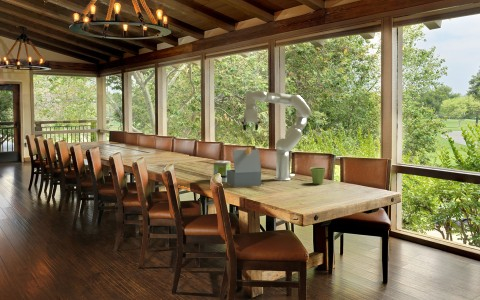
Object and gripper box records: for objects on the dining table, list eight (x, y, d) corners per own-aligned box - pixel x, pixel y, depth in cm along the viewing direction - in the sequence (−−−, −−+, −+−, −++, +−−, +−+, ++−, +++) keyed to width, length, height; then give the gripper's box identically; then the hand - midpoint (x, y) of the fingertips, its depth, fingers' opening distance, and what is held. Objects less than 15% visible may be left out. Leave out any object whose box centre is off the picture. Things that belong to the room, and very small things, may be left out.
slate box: (251, 182, 314) (252, 168, 313) (260, 185, 299) (261, 171, 298) (226, 183, 307) (226, 170, 306) (234, 187, 292) (234, 173, 291)
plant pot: (329, 183, 310) (329, 168, 309) (320, 185, 301) (320, 169, 300) (315, 181, 318) (315, 166, 317) (306, 183, 309) (306, 168, 308)
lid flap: (258, 149, 301) (262, 147, 294) (260, 171, 298) (265, 169, 291) (232, 150, 294) (236, 147, 287) (234, 173, 291) (238, 170, 284)
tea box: (226, 182, 311) (226, 162, 309) (213, 182, 313) (213, 162, 311) (230, 179, 325) (230, 160, 324) (218, 179, 327) (218, 160, 326)
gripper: (258, 107, 323) (258, 129, 325) (238, 107, 317) (238, 130, 318) (263, 107, 316) (263, 130, 318) (242, 107, 310) (242, 130, 311)
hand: (250, 130), depth 318 cm, fingers open, 9 cm apart
